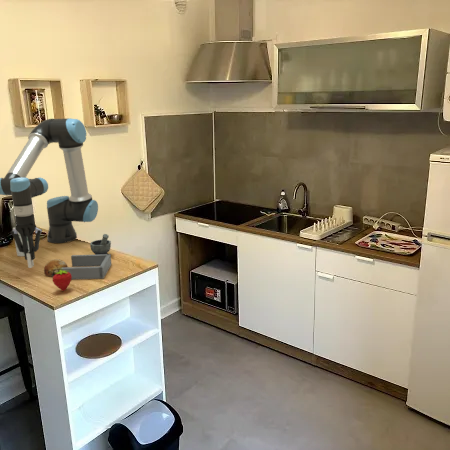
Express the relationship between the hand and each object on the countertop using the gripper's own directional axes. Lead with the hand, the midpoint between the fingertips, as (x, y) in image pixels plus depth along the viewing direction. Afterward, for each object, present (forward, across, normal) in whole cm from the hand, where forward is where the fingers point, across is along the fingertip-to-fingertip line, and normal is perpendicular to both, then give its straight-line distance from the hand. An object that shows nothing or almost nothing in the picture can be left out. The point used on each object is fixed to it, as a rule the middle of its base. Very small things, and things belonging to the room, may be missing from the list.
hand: (31, 266), depth 201 cm
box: (+3, +24, 0) cm, 24 cm away
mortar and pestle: (+3, +26, +20) cm, 33 cm away
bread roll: (+4, +10, 0) cm, 11 cm away
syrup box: (+3, -12, +26) cm, 29 cm away
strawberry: (+4, +20, -20) cm, 28 cm away
